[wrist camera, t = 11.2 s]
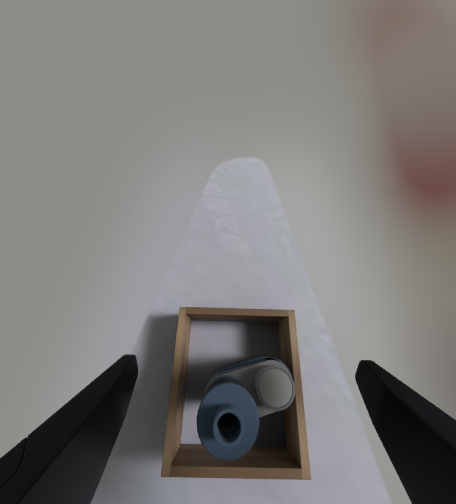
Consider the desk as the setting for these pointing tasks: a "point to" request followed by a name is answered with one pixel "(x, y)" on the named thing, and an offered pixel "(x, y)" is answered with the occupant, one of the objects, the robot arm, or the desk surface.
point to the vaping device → (241, 404)
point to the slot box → (258, 457)
